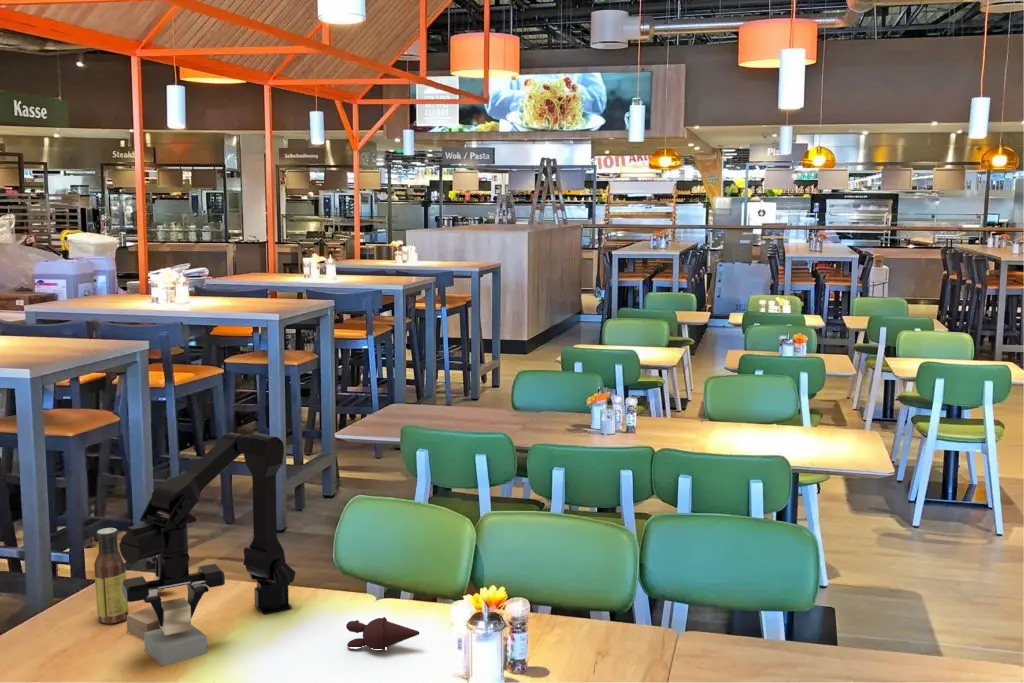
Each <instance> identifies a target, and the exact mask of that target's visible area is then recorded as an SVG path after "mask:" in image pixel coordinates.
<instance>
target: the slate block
mask: <svg viewBox="0 0 1024 683" xmlns="http://www.w3.org/2000/svg"><path fill="white" fill-rule="evenodd" d="M207 639H208V638H207V635H206V634H205V633H204V632H202V631H201V630H200V629H198V628H197V627H195V626H194V625H193V624H192V623H191V630H190V631H185V632H180V633H175V634H170V635H165V634H164V632H163V631H162V629H161V628H160V629H156V630H153V631H149V632H145V633H144V640H143V642H144V643H143V644H144V648H143V649H144V651H145V652H146V653H148V655H149V656H151V658H153V659H154V660H155V661H156V662H157V663H158V664H160V665H161V666H162V667H166V666H169V665H172V664H175V663H176V664H177V663H179V662H182V661H186V660H189V659H192V658H196V657H200V656H202V655H205V654H207V653H208V651H207V650H208V646H207V645H208V644H207V641H208V640H207Z"/></svg>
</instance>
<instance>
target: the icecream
mask: <svg viewBox="0 0 1024 683" xmlns="http://www.w3.org/2000/svg"><path fill="white" fill-rule="evenodd" d="M345 629H347V631H349V632H351V633H355V634H359V633H362V637H360V638H359V637H358V638H354V639H353V638H352V640H350V641H348V642H347V643H346V644H347V645H346V647H347V646H348V647H362V646H364V647H365V645H366V647H368V649H370V648H373V649H383V650H385V647H387V648H388V647H391V646H393V645H396V644H399V643H401V642H403V641H406V640H408V639H412V638H413V637H416V636H419V635H420V631H419V630H416V629H413V628H410V627H406V626H403V625H400V624H397V623H396V622H395V623H394V622H391V621H388V619H387V618H386V617H385V616H383V617H378V618H375V619H372V620H371V621H369V622H368V623H367V624H365V623H362V622H360V621H359V620H358V619H357V620H351V621H348V622H347V624H346V625H345ZM348 647H347V648H348ZM362 648H363V647H362Z"/></svg>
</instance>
